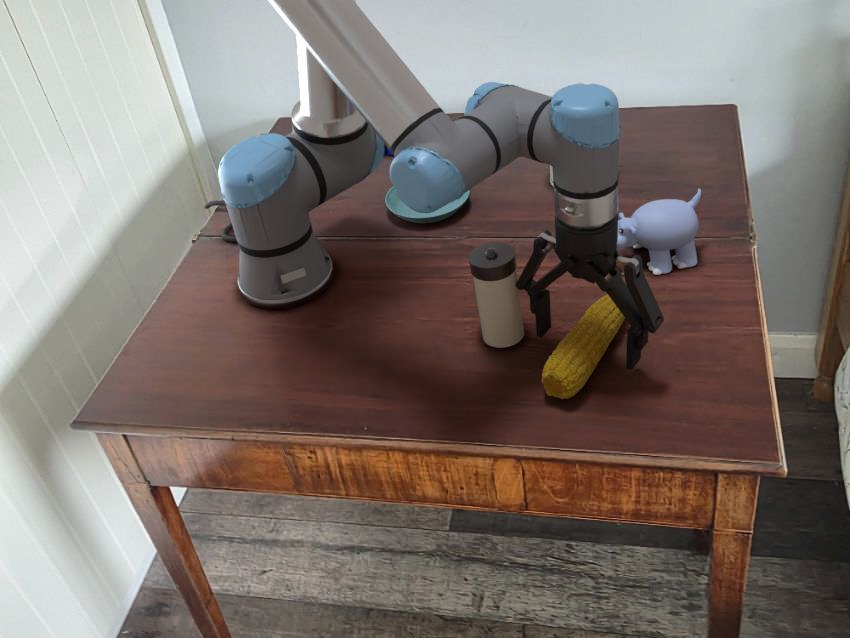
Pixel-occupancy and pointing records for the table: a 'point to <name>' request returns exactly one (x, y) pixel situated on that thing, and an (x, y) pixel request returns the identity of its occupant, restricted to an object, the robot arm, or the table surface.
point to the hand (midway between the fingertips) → (587, 347)
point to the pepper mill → (497, 293)
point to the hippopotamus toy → (662, 232)
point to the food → (581, 349)
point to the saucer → (416, 217)
